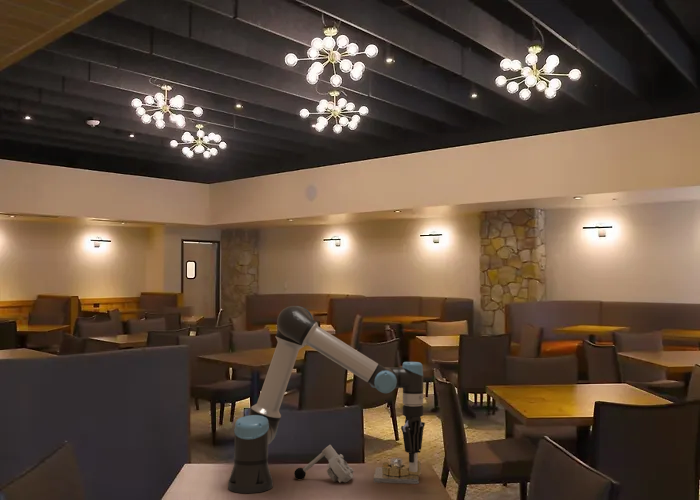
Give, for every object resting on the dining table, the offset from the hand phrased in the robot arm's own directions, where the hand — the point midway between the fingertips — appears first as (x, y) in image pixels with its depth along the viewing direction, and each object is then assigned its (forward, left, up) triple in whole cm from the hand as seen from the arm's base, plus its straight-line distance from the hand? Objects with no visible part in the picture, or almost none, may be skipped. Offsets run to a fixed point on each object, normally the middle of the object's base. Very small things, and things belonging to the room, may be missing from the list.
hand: (413, 471), depth 220 cm
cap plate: (-6, +4, -3) cm, 8 cm away
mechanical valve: (-32, -4, -4) cm, 33 cm away
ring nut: (-4, +3, -2) cm, 6 cm away
